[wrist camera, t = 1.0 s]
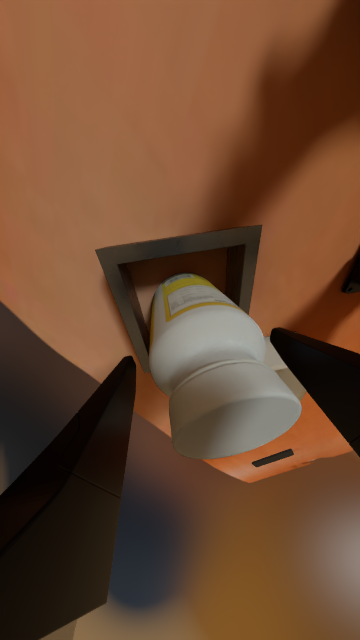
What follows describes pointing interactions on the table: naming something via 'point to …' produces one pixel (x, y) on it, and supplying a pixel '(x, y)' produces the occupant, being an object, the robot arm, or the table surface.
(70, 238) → the table surface
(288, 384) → the bin
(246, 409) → the pill bottle
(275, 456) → the phone
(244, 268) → the collar
